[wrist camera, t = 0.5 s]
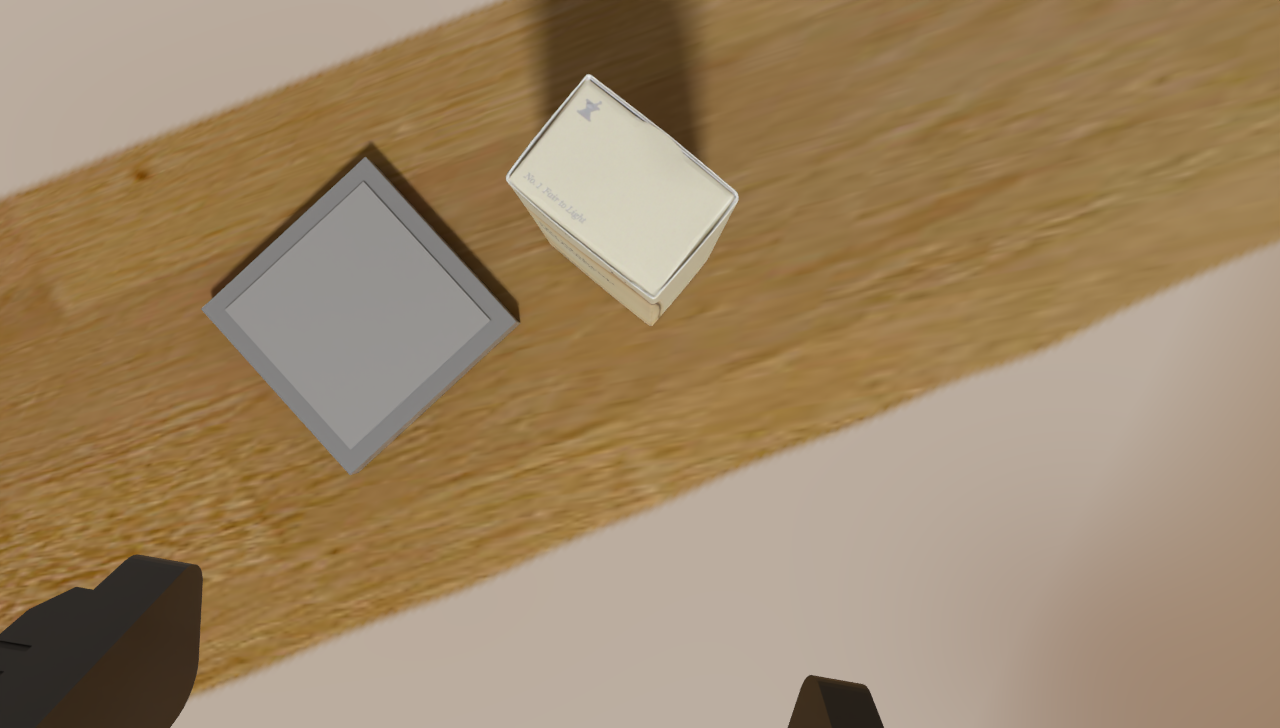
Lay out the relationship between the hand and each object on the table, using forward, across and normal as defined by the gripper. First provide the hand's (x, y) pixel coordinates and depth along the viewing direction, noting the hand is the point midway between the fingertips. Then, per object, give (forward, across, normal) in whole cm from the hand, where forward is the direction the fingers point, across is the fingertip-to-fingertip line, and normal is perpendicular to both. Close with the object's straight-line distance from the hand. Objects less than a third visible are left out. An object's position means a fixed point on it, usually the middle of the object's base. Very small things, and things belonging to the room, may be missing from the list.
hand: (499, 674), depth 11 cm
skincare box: (+28, -2, -1) cm, 28 cm away
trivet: (+27, +10, +5) cm, 29 cm away
